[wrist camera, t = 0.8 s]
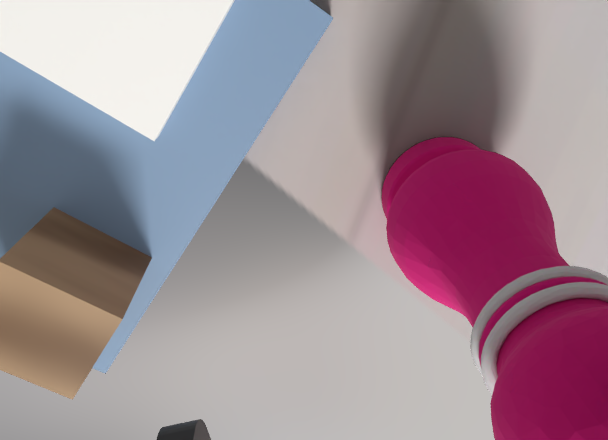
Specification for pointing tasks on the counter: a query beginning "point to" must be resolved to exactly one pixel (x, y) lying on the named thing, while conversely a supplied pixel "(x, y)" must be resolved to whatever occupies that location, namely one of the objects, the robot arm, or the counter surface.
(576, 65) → the counter surface
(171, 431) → the robot arm
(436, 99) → the counter surface
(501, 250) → the pepper mill
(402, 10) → the counter surface
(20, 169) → the board
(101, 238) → the walnut cube
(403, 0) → the counter surface
